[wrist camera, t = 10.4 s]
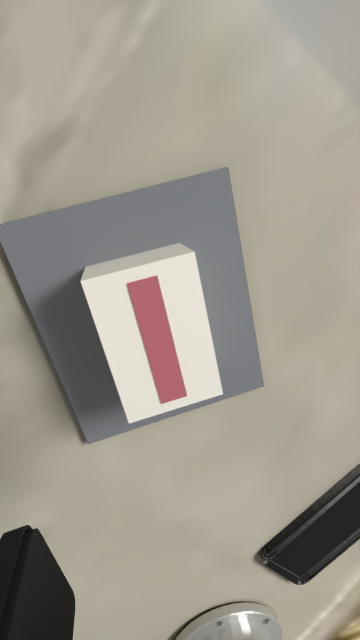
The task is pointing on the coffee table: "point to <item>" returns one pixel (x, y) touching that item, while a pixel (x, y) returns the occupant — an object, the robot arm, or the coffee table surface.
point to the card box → (154, 329)
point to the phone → (317, 533)
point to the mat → (120, 241)
